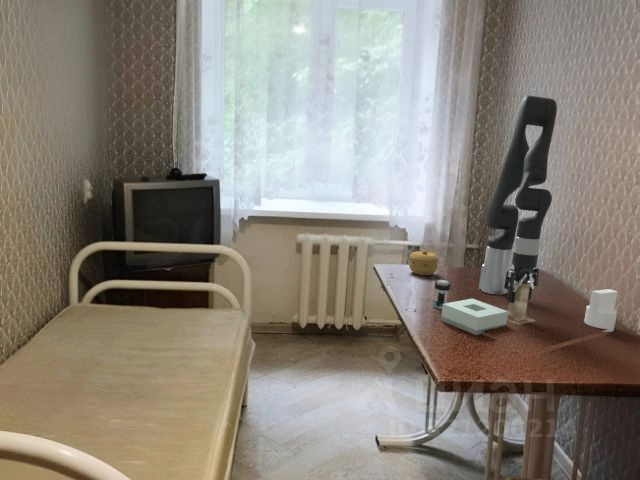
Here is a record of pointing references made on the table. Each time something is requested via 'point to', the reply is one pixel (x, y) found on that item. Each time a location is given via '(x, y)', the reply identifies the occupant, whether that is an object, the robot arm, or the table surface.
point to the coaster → (521, 320)
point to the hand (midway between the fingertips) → (518, 300)
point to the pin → (519, 303)
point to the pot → (423, 262)
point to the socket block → (473, 316)
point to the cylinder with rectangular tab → (602, 310)
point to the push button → (441, 293)
